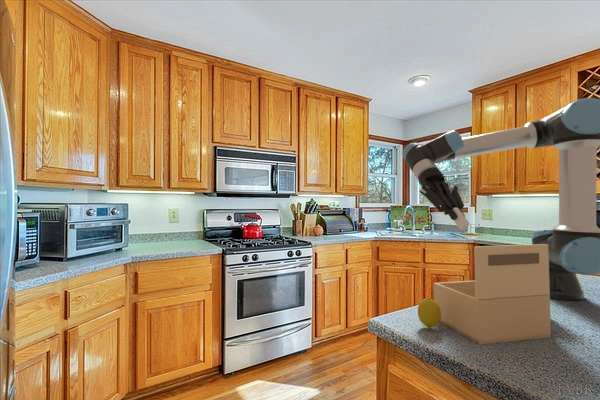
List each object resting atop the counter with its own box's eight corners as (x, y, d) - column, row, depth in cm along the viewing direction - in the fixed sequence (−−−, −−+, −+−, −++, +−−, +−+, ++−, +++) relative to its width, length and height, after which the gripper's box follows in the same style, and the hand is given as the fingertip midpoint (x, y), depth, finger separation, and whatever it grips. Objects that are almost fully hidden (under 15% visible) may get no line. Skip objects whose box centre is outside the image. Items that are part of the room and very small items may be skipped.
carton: (494, 313, 85) (493, 279, 86) (551, 336, 70) (549, 295, 70) (434, 318, 82) (433, 282, 82) (479, 344, 66) (478, 300, 66)
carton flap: (546, 293, 71) (544, 244, 71) (550, 294, 70) (549, 244, 70) (475, 298, 67) (474, 246, 67) (478, 299, 66) (477, 246, 66)
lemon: (431, 334, 71) (430, 301, 72) (413, 326, 76) (412, 296, 76) (446, 330, 74) (445, 298, 74) (427, 322, 79) (427, 293, 79)
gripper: (440, 183, 103) (477, 235, 86) (406, 183, 101) (438, 235, 84) (450, 166, 98) (492, 217, 81) (415, 165, 96) (451, 218, 79)
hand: (464, 226), depth 83 cm, fingers closed
